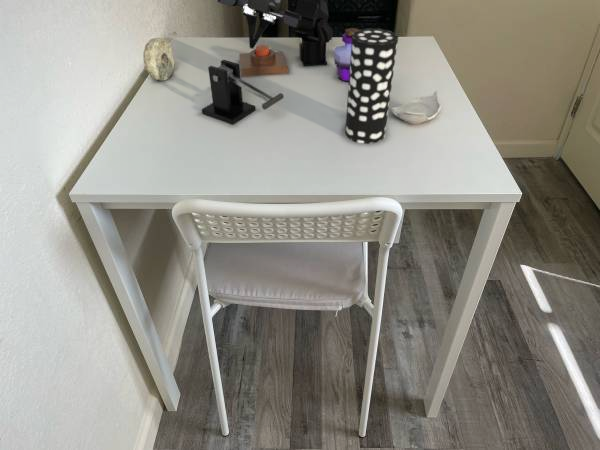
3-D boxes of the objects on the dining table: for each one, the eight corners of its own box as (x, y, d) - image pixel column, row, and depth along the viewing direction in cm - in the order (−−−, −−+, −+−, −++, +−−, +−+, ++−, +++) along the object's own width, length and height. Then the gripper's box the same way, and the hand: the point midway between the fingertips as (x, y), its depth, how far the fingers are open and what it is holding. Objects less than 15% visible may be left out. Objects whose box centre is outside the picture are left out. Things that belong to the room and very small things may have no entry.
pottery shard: (430, 107, 105) (434, 87, 101) (449, 132, 97) (454, 110, 93) (386, 111, 104) (389, 90, 100) (402, 136, 95) (406, 114, 92)
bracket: (255, 110, 104) (252, 63, 97) (232, 124, 99) (227, 77, 92) (225, 100, 108) (220, 55, 101) (202, 114, 103) (194, 67, 96)
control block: (283, 59, 127) (282, 44, 124) (288, 73, 119) (287, 58, 117) (240, 61, 125) (238, 47, 123) (242, 76, 118) (240, 61, 115)
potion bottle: (352, 88, 113) (356, 38, 105) (324, 78, 117) (326, 30, 109) (371, 76, 118) (376, 28, 110) (344, 68, 122) (347, 21, 114)
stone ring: (158, 87, 113) (149, 47, 107) (146, 85, 114) (136, 45, 108) (180, 71, 120) (172, 32, 114) (168, 70, 121) (160, 31, 115)
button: (268, 51, 122) (268, 44, 120) (270, 56, 119) (269, 49, 118) (255, 52, 121) (254, 45, 120) (256, 57, 118) (255, 50, 117)
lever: (282, 102, 97) (284, 92, 95) (265, 113, 93) (267, 103, 91) (228, 71, 101) (229, 61, 99) (209, 80, 97) (210, 70, 95)
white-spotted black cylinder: (388, 127, 98) (401, 31, 85) (380, 146, 92) (393, 46, 79) (350, 121, 100) (358, 26, 87) (340, 139, 94) (347, 41, 81)
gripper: (221, -43, 92) (205, 37, 98) (309, -12, 94) (288, 64, 100) (229, -38, 102) (214, 34, 108) (309, -10, 104) (290, 59, 111)
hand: (251, 48), depth 107 cm, fingers closed
